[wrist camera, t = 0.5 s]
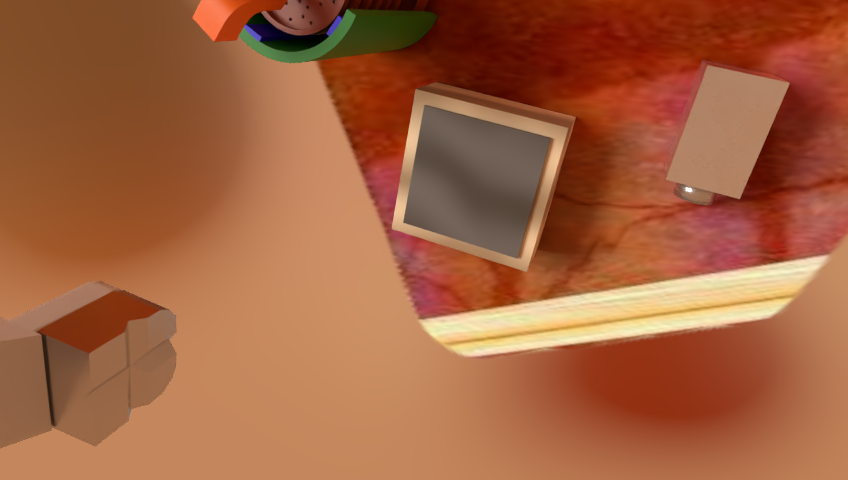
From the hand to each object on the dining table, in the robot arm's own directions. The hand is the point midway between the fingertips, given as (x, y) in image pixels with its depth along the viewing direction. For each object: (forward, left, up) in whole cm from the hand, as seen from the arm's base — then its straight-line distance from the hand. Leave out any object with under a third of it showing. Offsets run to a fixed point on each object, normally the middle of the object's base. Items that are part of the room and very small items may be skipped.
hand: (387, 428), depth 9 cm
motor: (-4, -19, -42) cm, 46 cm away
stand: (+8, -7, -42) cm, 43 cm away
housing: (0, +9, -42) cm, 43 cm away
